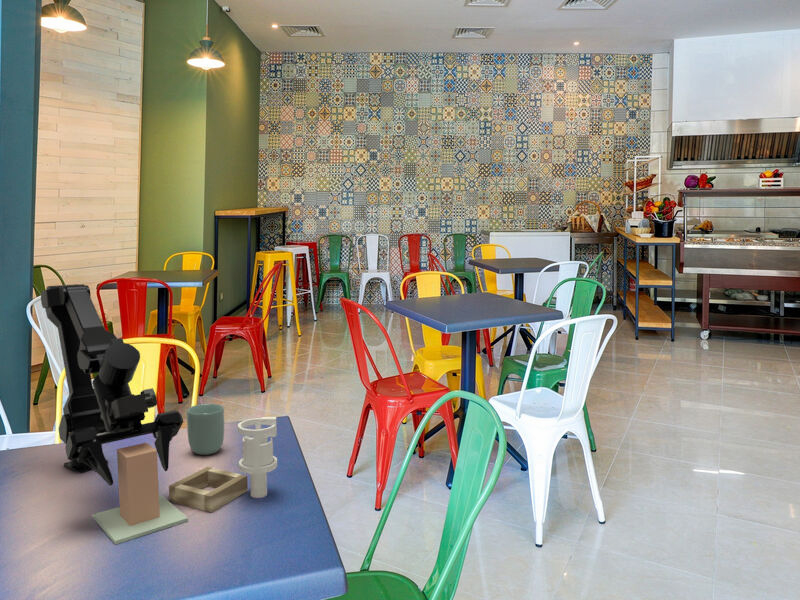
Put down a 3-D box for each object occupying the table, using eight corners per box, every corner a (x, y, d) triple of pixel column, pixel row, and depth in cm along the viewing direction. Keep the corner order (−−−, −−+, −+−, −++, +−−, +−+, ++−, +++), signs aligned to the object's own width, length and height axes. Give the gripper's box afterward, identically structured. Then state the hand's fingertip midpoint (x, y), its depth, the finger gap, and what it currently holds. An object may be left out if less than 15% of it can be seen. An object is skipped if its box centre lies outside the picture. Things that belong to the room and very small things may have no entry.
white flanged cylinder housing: (277, 501, 117) (275, 423, 115) (238, 504, 115) (236, 425, 113) (278, 485, 124) (276, 411, 122) (241, 487, 122) (239, 413, 120)
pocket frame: (169, 501, 116) (168, 485, 116) (207, 481, 125) (207, 466, 125) (211, 512, 112) (210, 496, 112) (247, 490, 121) (247, 475, 121)
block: (120, 515, 109) (116, 449, 108) (149, 506, 113) (146, 442, 111) (130, 526, 106) (126, 457, 104) (159, 516, 109) (156, 450, 107)
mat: (92, 517, 110) (92, 514, 110) (161, 497, 118) (161, 494, 118) (115, 544, 101) (115, 541, 101) (187, 521, 109) (187, 517, 109)
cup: (214, 459, 136) (212, 415, 135) (181, 456, 138) (179, 412, 137) (231, 447, 144) (229, 404, 143) (199, 444, 145) (198, 402, 144)
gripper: (65, 384, 103) (89, 469, 96) (177, 367, 115) (205, 441, 109) (56, 419, 110) (77, 500, 103) (162, 399, 122) (188, 471, 116)
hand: (139, 477), depth 108 cm, fingers open, 9 cm apart
